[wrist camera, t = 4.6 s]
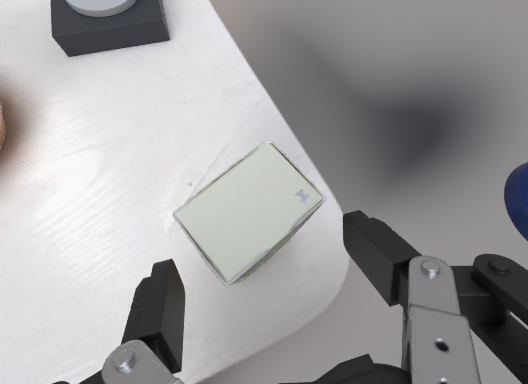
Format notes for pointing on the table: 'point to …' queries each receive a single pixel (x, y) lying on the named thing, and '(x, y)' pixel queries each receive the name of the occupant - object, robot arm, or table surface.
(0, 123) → the bowl
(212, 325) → the table surface
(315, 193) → the cosmetic box
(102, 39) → the scale
